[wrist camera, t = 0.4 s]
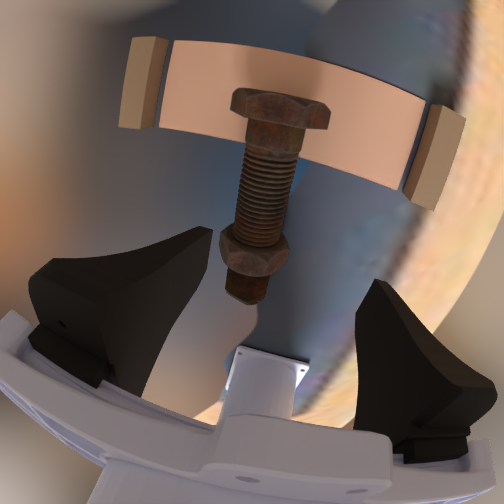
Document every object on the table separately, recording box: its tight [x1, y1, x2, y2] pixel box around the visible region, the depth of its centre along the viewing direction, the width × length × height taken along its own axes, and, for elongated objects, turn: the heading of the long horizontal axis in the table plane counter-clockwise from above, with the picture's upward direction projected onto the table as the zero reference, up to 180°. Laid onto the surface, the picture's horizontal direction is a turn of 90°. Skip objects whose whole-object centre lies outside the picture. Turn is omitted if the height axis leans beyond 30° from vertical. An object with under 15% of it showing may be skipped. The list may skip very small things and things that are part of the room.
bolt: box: [219, 87, 331, 305], centre depth 18 cm, size 6×5×15 cm
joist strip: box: [119, 36, 466, 211], centre depth 16 cm, size 7×23×2 cm, turn 78°
